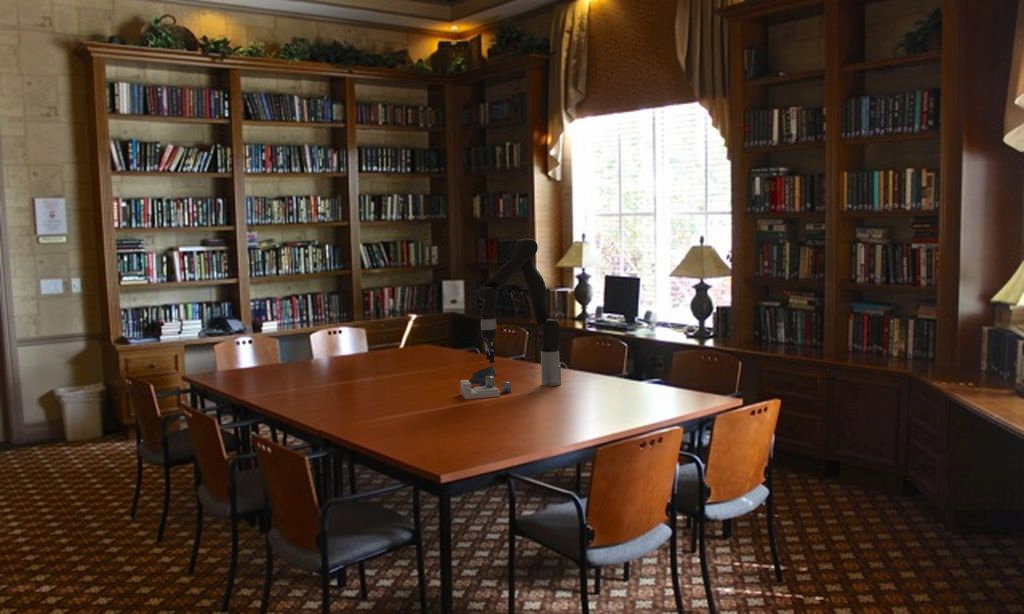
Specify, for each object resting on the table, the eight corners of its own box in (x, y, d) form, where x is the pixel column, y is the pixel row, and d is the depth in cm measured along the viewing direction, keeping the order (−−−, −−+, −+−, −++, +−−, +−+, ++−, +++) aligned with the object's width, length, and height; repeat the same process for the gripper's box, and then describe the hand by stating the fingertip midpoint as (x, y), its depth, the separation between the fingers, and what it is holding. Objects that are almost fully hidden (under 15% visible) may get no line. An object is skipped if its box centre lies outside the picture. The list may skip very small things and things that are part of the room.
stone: (473, 388, 453) (472, 368, 452) (468, 386, 458) (467, 367, 457) (497, 385, 459) (497, 365, 458) (492, 383, 464) (492, 364, 463)
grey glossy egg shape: (493, 385, 441) (493, 375, 440) (495, 387, 436) (495, 377, 436) (484, 386, 440) (484, 376, 439) (486, 388, 436) (486, 377, 435)
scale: (495, 391, 443) (494, 376, 442) (500, 396, 430) (499, 381, 429) (460, 394, 439) (460, 379, 438) (464, 399, 427) (464, 384, 426)
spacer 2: (510, 391, 442) (509, 381, 442) (512, 392, 438) (511, 382, 437) (501, 391, 441) (501, 381, 441) (503, 393, 437) (502, 383, 437)
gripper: (499, 329, 429) (500, 363, 431) (493, 325, 443) (495, 358, 445) (483, 330, 428) (485, 364, 429) (478, 326, 442) (480, 359, 443)
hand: (490, 361), depth 437 cm, fingers open, 8 cm apart
